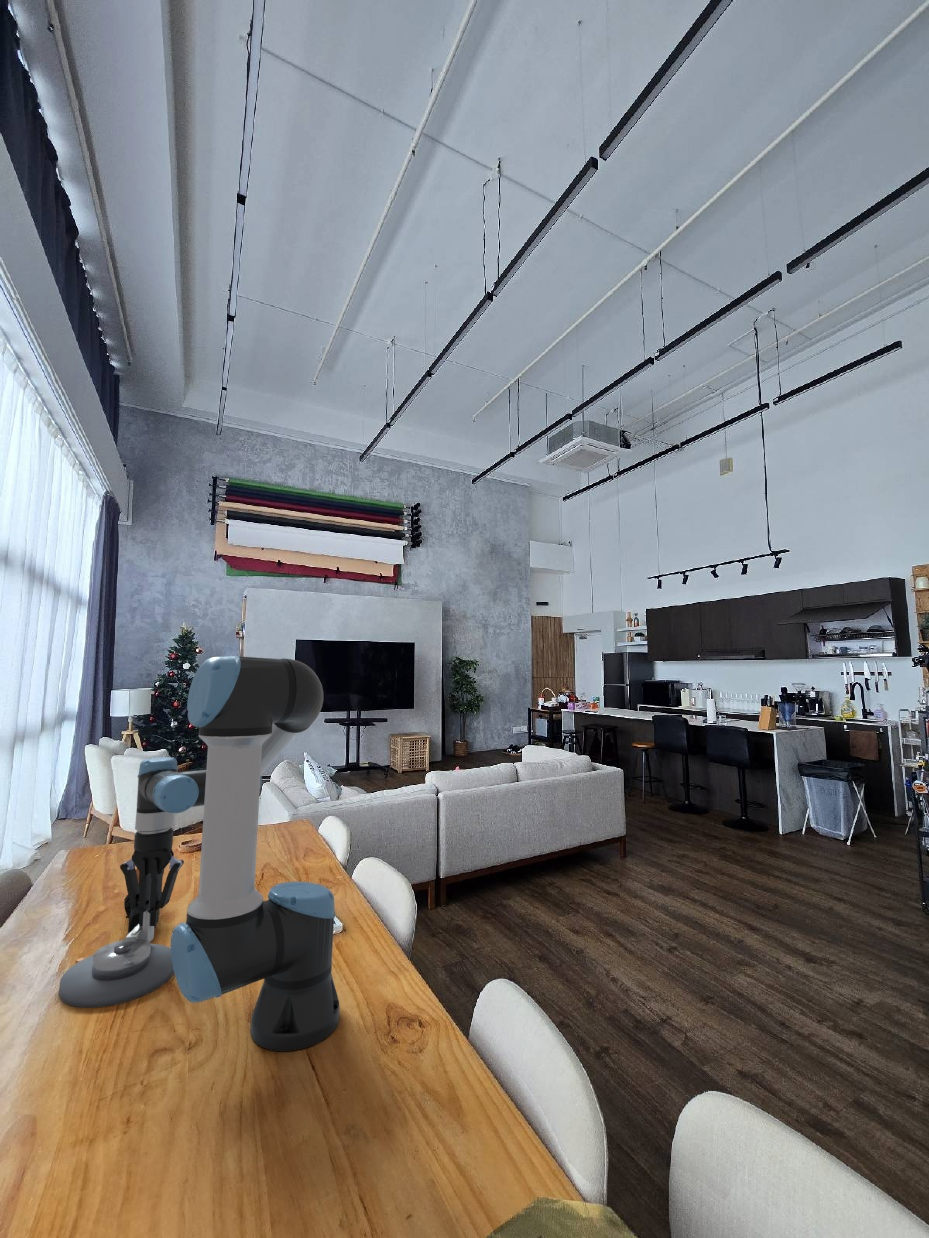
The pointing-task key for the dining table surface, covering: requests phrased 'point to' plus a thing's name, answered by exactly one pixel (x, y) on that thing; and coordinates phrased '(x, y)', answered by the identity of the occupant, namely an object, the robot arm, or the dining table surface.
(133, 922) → the tool
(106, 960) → the dial
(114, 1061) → the dining table surface
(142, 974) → the dial plate
